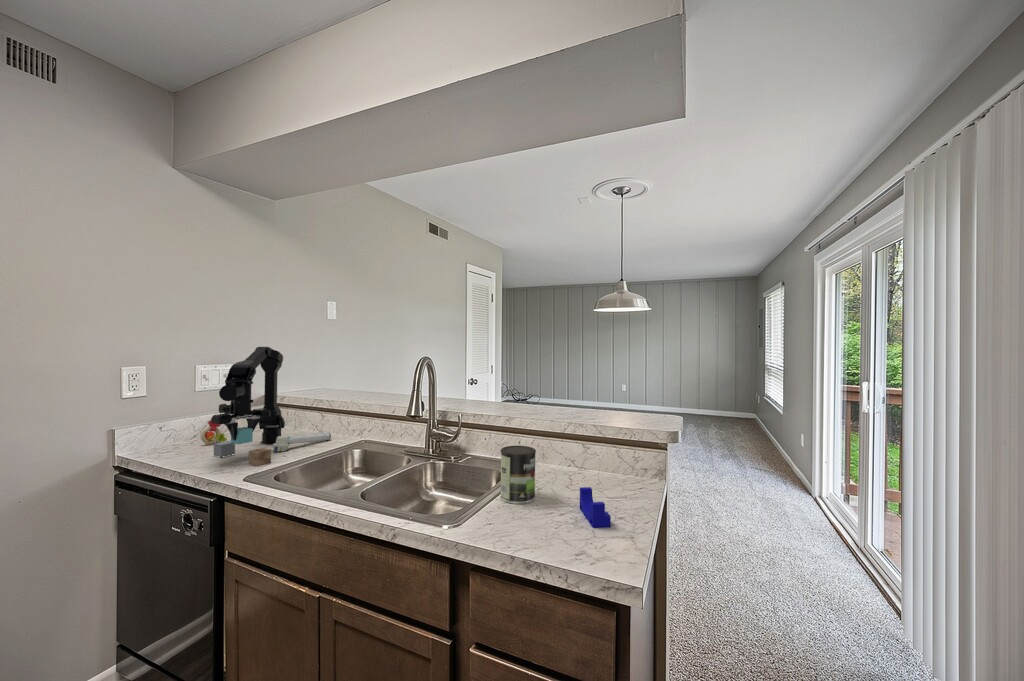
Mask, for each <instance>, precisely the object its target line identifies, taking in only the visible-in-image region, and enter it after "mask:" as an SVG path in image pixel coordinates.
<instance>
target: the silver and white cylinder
mask: <svg viewBox="0 0 1024 681" xmlns="http://www.w3.org/2000/svg"><path fill="white" fill-rule="evenodd" d="M331 438H332V434H331V433H330V432H327V431H326V432H325V431H324V432H323V431H319V432H316V433H308V434H307V433H306V434H299V435H289V436H288V435H287V436H286V435H281V436H278V437H277V439H276V443H273V444H272V447H273V450H272V451H273V452H276V453H278V452H282V453H284V452H283V451H285V452H286V450H289V447H290V444H291V445H293V444H305V443H306V444H307V443H317V442H320V443H324V442H327V441H326V440H329V441H331ZM321 441H322V442H321Z"/></svg>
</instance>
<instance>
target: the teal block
mask: <svg viewBox="0 0 1024 681" xmlns="http://www.w3.org/2000/svg"><path fill="white" fill-rule="evenodd" d="M247 427H248V426H247ZM247 427H246V426H242V427H238V428H237V437H236V440H235V441H234V440H233V439H232V436H231V435H230V442H231V443H234V444H235V445H242V444H247V443H252V442H253V439H254V438H253V436H254V435H253V434H254V431H253V428H247Z"/></svg>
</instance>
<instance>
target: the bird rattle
mask: <svg viewBox="0 0 1024 681" xmlns="http://www.w3.org/2000/svg"><path fill="white" fill-rule="evenodd" d="M207 423H208V426H207V427H206V428H204V429H203V430H202V431H201V433H200V440H201V442H203V444H205V445H206V446H207V445H208V446H210V445H214V444H215V442H216V443H219V442H225V441H228V438H227V437H225V433H224V432H222V433H221V430H220V429H219V427H220V426H221V425H222V424H215V423H211V419H210V420H208V421H207ZM209 444H210V445H209Z"/></svg>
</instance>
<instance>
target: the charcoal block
mask: <svg viewBox="0 0 1024 681" xmlns="http://www.w3.org/2000/svg"><path fill="white" fill-rule="evenodd" d="M232 454H235V455H236V444H234V443H231V440H230V441H229V440H226V441H224V442H220V443H219V442H216V443H213V456H214V455H215V456H219V457H223V456H228V455H232ZM228 457H229V456H228Z"/></svg>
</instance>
